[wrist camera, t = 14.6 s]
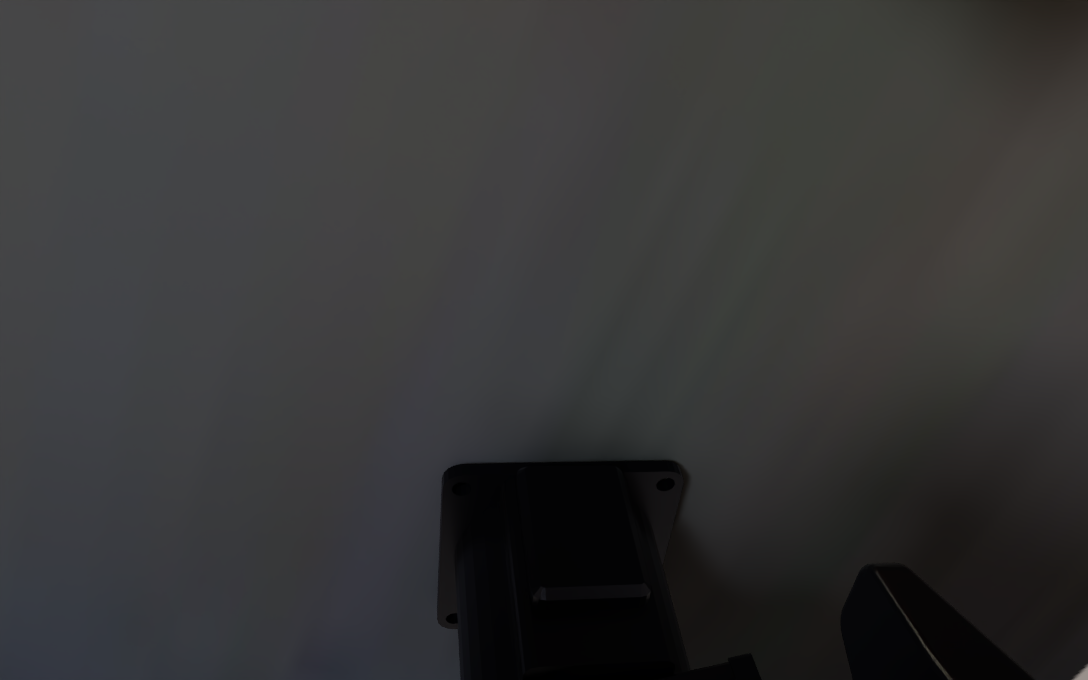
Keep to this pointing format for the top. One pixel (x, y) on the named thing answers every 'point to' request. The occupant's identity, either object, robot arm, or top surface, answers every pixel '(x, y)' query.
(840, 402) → the top surface
